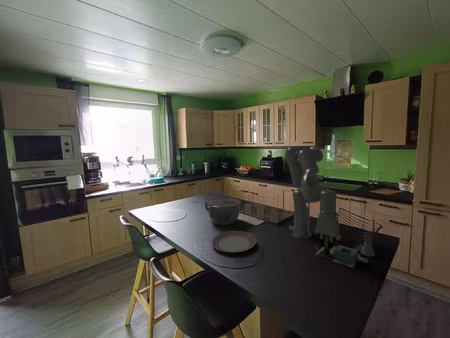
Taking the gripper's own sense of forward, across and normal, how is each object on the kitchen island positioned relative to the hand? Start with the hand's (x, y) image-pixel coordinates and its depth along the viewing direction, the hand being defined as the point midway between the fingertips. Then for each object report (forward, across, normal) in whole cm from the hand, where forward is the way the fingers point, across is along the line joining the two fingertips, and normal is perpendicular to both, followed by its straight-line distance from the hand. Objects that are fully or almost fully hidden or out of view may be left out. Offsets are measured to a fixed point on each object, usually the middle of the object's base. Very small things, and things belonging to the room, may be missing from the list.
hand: (326, 246), depth 111 cm
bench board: (+6, -4, -5) cm, 9 cm away
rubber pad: (+5, 0, 0) cm, 5 cm away
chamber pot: (+6, +78, 0) cm, 78 cm away
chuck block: (+5, -10, -4) cm, 12 cm away
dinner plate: (+7, +47, +22) cm, 52 cm away
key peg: (+3, 0, 0) cm, 3 cm away
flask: (+6, -15, -17) cm, 24 cm away
